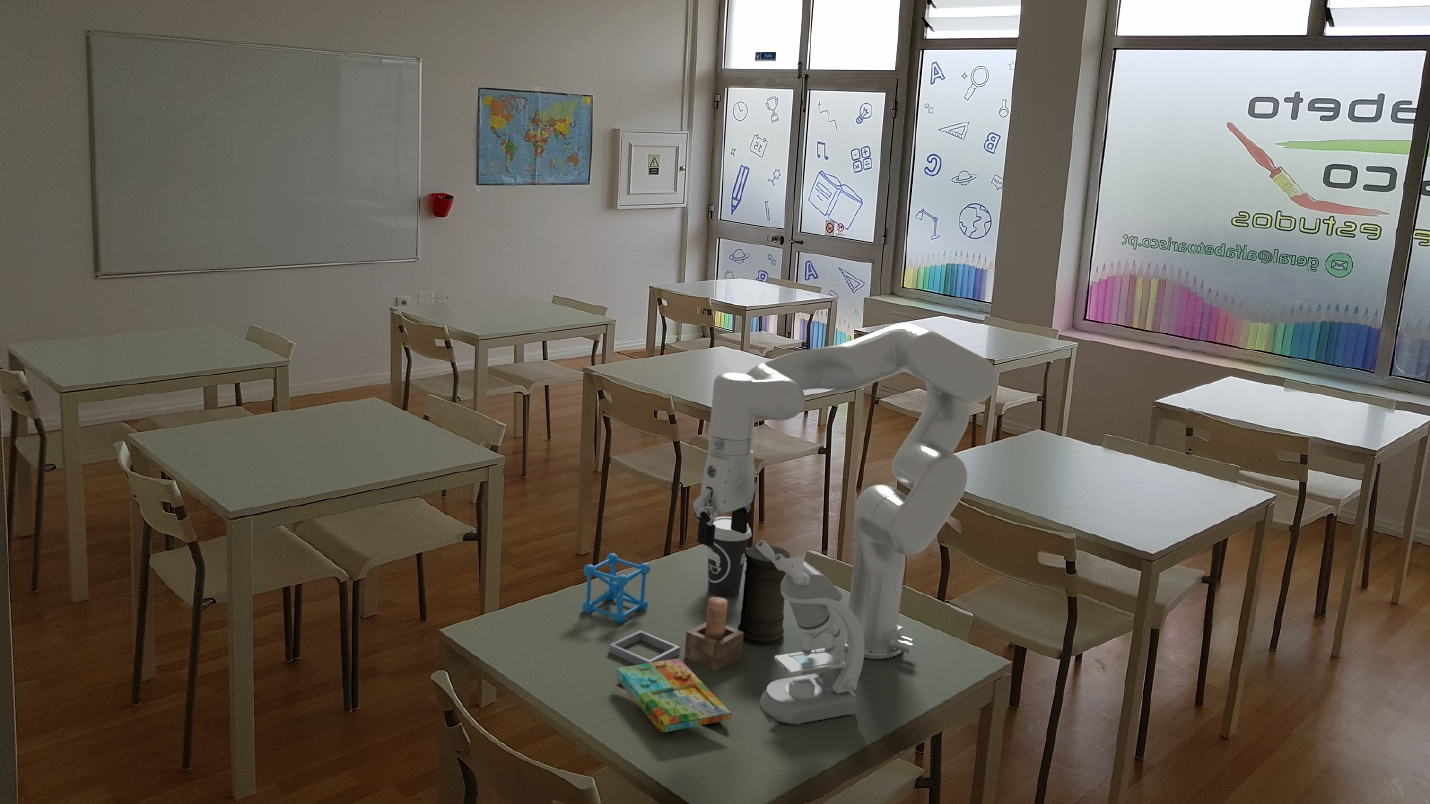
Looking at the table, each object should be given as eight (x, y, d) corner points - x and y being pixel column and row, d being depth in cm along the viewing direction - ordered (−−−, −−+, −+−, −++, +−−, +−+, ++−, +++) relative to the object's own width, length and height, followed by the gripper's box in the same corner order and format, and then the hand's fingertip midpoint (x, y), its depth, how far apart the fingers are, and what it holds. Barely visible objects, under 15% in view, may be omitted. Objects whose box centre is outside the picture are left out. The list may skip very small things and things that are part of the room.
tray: (679, 659, 205) (680, 646, 204) (648, 675, 198) (649, 662, 198) (639, 642, 210) (640, 630, 210) (608, 657, 204) (609, 644, 203)
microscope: (735, 702, 191) (750, 535, 184) (830, 686, 199) (848, 526, 192) (765, 734, 182) (782, 560, 175) (864, 716, 190) (883, 549, 183)
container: (790, 638, 217) (799, 550, 213) (772, 656, 209) (781, 565, 205) (747, 626, 220) (755, 540, 216) (728, 643, 213) (736, 554, 208)
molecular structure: (621, 626, 216) (624, 578, 214) (579, 612, 221) (581, 564, 219) (649, 609, 225) (653, 562, 222) (608, 596, 229) (611, 550, 227)
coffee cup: (741, 603, 231) (747, 534, 228) (696, 595, 233) (701, 527, 229) (750, 585, 240) (755, 518, 237) (706, 578, 242) (711, 512, 238)
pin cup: (741, 662, 205) (743, 632, 204) (716, 676, 200) (719, 645, 198) (708, 649, 210) (711, 619, 208) (684, 662, 204) (686, 631, 202)
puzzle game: (678, 653, 198) (732, 708, 181) (676, 677, 199) (729, 734, 182) (616, 663, 192) (665, 720, 175) (614, 688, 193) (663, 747, 176)
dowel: (726, 657, 205) (731, 601, 202) (714, 663, 202) (719, 607, 199) (711, 651, 207) (715, 595, 204) (699, 657, 204) (704, 601, 201)
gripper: (717, 459, 186) (709, 556, 190) (776, 441, 200) (767, 532, 204) (682, 448, 190) (674, 543, 194) (742, 431, 204) (734, 521, 208)
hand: (722, 537), depth 199 cm, fingers open, 9 cm apart
